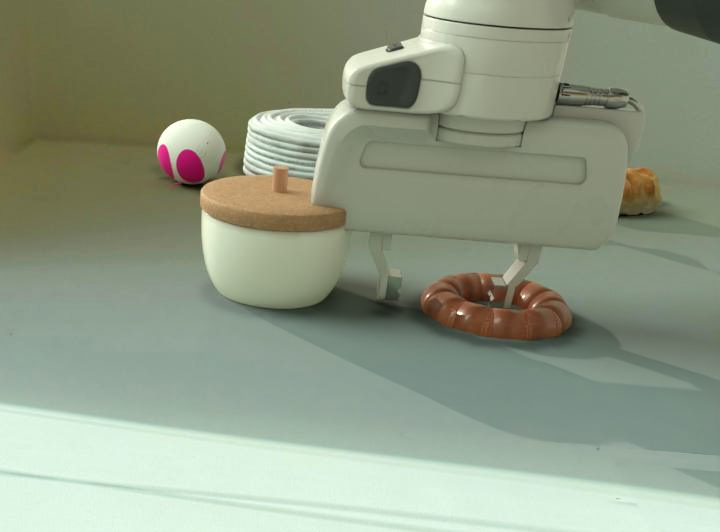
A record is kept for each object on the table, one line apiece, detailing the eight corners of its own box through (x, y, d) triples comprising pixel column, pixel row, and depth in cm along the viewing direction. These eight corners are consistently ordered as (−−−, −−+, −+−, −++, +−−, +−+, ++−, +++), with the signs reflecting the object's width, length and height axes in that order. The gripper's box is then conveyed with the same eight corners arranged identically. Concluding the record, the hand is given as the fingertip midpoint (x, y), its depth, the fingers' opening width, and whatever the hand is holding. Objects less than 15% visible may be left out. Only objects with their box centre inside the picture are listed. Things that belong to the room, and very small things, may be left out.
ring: (548, 311, 70) (558, 274, 69) (578, 364, 62) (590, 323, 60) (412, 300, 70) (419, 262, 69) (425, 352, 62) (432, 310, 61)
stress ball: (152, 212, 97) (126, 160, 92) (191, 156, 99) (167, 101, 93) (209, 224, 94) (185, 171, 88) (248, 166, 95) (227, 110, 90)
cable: (424, 179, 102) (435, 118, 99) (368, 212, 90) (377, 143, 86) (283, 155, 108) (288, 96, 104) (212, 182, 96) (214, 116, 92)
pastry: (602, 221, 93) (614, 179, 90) (552, 204, 97) (562, 165, 95) (662, 213, 97) (675, 173, 94) (612, 198, 101) (623, 159, 99)
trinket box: (172, 316, 65) (174, 170, 59) (230, 275, 73) (236, 142, 67) (317, 346, 62) (334, 196, 56) (360, 299, 70) (379, 163, 64)
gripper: (640, 82, 59) (578, 299, 68) (323, 57, 59) (301, 277, 68) (670, 98, 54) (598, 330, 63) (323, 71, 54) (300, 306, 63)
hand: (442, 302), depth 65 cm, fingers open, 6 cm apart
